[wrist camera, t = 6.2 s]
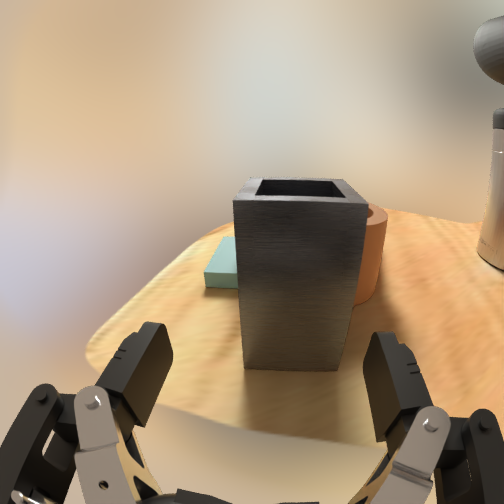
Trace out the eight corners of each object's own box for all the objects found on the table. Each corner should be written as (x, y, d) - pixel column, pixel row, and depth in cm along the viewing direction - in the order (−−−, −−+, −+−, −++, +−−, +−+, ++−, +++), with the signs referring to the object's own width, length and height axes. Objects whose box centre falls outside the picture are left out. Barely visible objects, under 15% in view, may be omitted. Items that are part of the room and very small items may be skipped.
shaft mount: (286, 250, 30) (287, 191, 27) (286, 290, 23) (288, 215, 20) (224, 248, 31) (220, 191, 28) (205, 286, 24) (197, 214, 21)
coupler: (328, 314, 20) (342, 179, 15) (337, 370, 15) (368, 203, 10) (254, 312, 20) (250, 177, 16) (243, 368, 15) (232, 200, 11)
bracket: (375, 315, 19) (393, 232, 16) (274, 299, 22) (275, 218, 19) (371, 234, 34) (376, 184, 31) (312, 227, 37) (314, 178, 34)
